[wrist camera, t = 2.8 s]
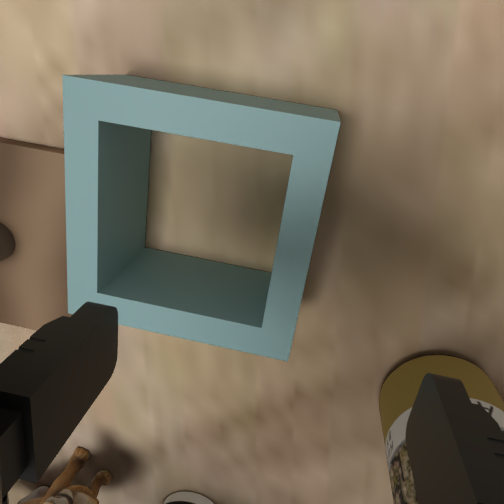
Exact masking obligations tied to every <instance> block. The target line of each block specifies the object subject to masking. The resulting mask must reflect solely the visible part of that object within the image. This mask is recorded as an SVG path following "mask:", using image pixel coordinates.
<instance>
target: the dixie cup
mask: <svg viewBox="0 0 504 504" xmlns="http://www.w3.org/2000/svg"><path fill="white" fill-rule="evenodd" d="M163 504H214V503H213V502H212V501H211V500H209V499H208V498H206V497H204V496H202V495H200V494H197V493H193V492H177V493H173V494H171V495H170V496H168V497H167V498H166V499H165V501H164V503H163Z"/></svg>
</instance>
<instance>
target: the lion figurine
mask: <svg viewBox="0 0 504 504" xmlns="http://www.w3.org/2000/svg"><path fill="white" fill-rule="evenodd" d="M89 456H90V455H89V452H88V451H87V450H85V449H84V448H80V447H77V448H76V450H75V451H74V453H73V455H72V457H71V458H70V460H69V463H68V465H67V466H66V468H65V469H64V471H63V472H62V473H61V474H60V475H59V476H58V477H57V478H56V480H55V481H54V482H53V484H52V485H51V487H50V488H49V487H46V486H41V487H39V488H37V489H36V490H35V491H33V492H32V493H30V494H29V495H27V496H26V497H24V498H23V499H21V500H20V501H19V502H18V503H17V504H99V501H98V499H97V495H98V492H99V488H100V486H101V485H108V484H109V482H110V481H111V479H112V476H111V474H110V473H109V472H108V471H106V470H102V471H99V472H98V473H97V474H96V475H95V476H94V478H93V479H92V481H91V482H90V484H89V485H88V488H87V487H85V486H81V485H73V486H70V485H71V482H72V480H73V478H74V476H75V475H76V474H77V473H78V471H79V470H80V469H81V468H82V467H83V465H84V462H86V461H87V460H88V458H89Z"/></svg>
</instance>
